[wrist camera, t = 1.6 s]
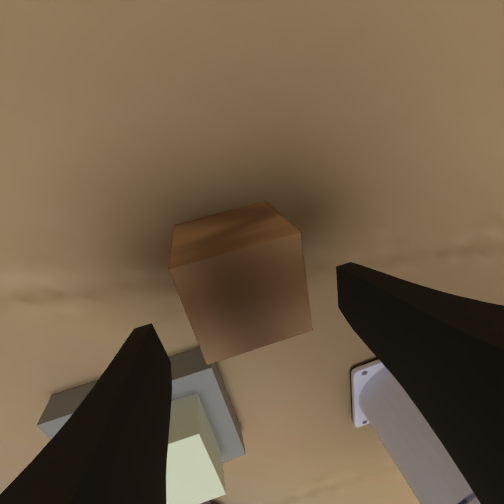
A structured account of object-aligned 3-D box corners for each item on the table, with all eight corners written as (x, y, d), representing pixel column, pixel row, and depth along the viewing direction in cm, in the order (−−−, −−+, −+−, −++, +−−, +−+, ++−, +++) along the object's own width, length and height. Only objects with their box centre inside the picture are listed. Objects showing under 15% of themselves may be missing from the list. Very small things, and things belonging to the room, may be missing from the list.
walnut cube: (265, 200, 14) (300, 232, 10) (278, 276, 17) (312, 330, 12) (174, 224, 14) (168, 269, 9) (201, 300, 16) (207, 364, 12)
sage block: (197, 392, 16) (198, 433, 14) (221, 452, 20) (225, 494, 17) (80, 429, 15) (62, 479, 13) (125, 486, 19) (117, 534, 16)
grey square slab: (208, 338, 18) (211, 367, 16) (239, 422, 22) (245, 454, 20) (56, 386, 17) (36, 425, 15) (121, 464, 21) (114, 503, 19)
